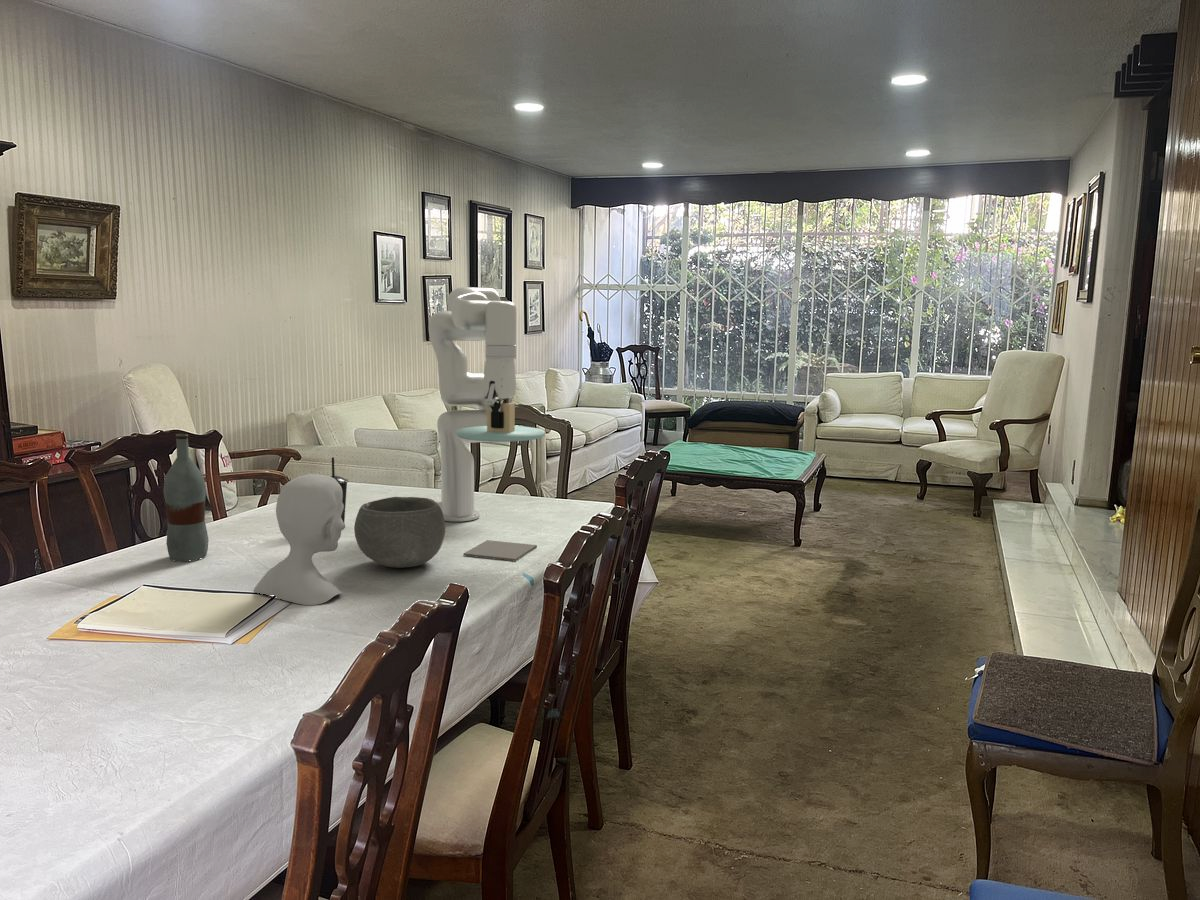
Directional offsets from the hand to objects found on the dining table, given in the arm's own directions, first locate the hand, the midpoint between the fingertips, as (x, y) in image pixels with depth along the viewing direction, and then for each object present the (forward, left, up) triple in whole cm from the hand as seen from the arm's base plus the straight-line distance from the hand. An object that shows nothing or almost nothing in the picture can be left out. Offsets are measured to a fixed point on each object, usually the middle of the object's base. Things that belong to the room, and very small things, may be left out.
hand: (500, 426), depth 220 cm
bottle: (-68, -32, -32) cm, 82 cm away
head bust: (-26, -42, -32) cm, 59 cm away
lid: (0, 0, -2) cm, 2 cm away
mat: (0, 0, -32) cm, 32 cm away
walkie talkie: (-52, +5, -32) cm, 61 cm away
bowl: (-17, -20, -32) cm, 42 cm away
